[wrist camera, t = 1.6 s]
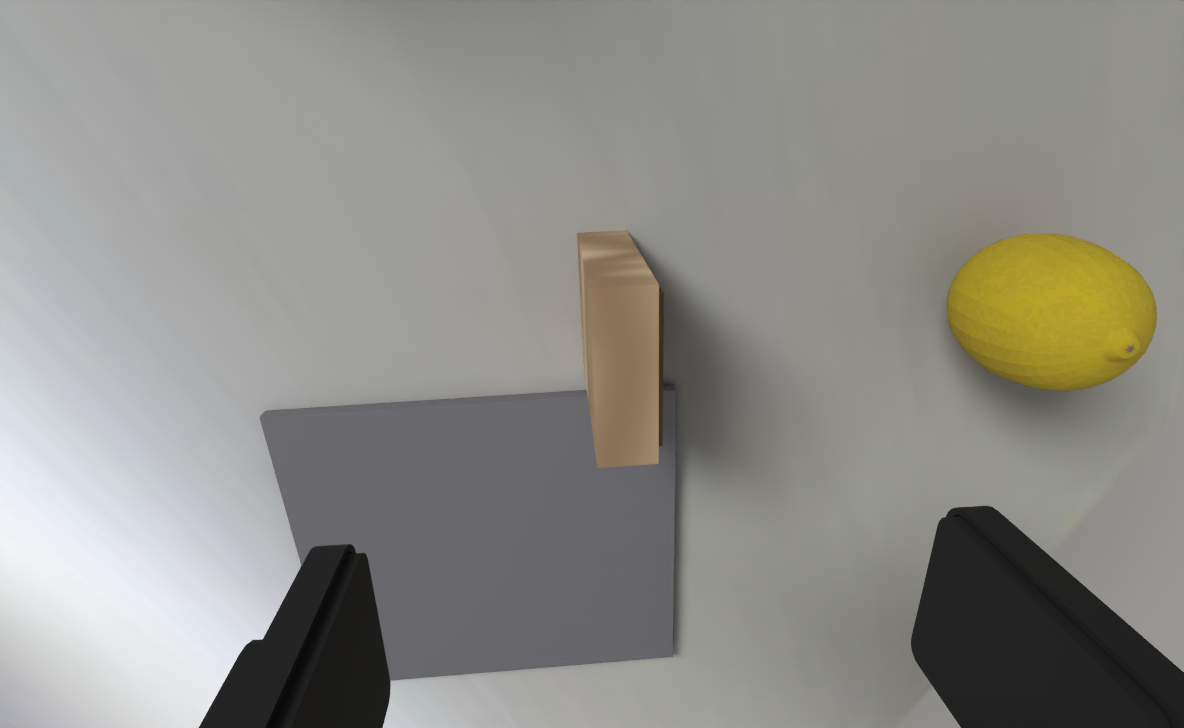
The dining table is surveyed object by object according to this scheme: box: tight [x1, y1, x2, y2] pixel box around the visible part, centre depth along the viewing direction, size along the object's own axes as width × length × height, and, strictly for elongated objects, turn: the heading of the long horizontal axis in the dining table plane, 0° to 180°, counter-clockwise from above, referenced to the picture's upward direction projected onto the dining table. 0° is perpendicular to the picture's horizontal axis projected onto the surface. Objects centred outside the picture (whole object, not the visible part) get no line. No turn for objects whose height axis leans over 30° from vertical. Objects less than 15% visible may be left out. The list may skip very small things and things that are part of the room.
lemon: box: [947, 234, 1157, 391], centre depth 23 cm, size 6×6×8 cm
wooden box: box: [577, 231, 663, 468], centre depth 23 cm, size 2×6×8 cm, turn 2°
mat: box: [260, 385, 676, 680], centre depth 30 cm, size 18×16×1 cm
